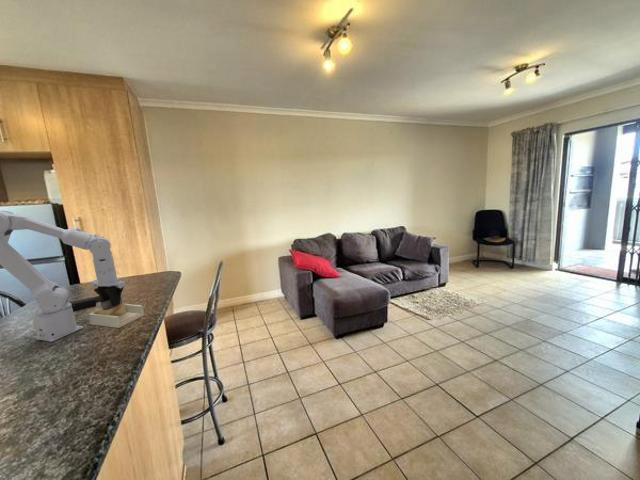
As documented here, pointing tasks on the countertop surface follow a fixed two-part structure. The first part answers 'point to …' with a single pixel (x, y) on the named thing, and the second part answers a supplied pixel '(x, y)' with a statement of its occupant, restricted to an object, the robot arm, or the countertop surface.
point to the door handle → (87, 303)
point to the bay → (117, 317)
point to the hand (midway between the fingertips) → (112, 304)
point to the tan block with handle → (111, 309)
